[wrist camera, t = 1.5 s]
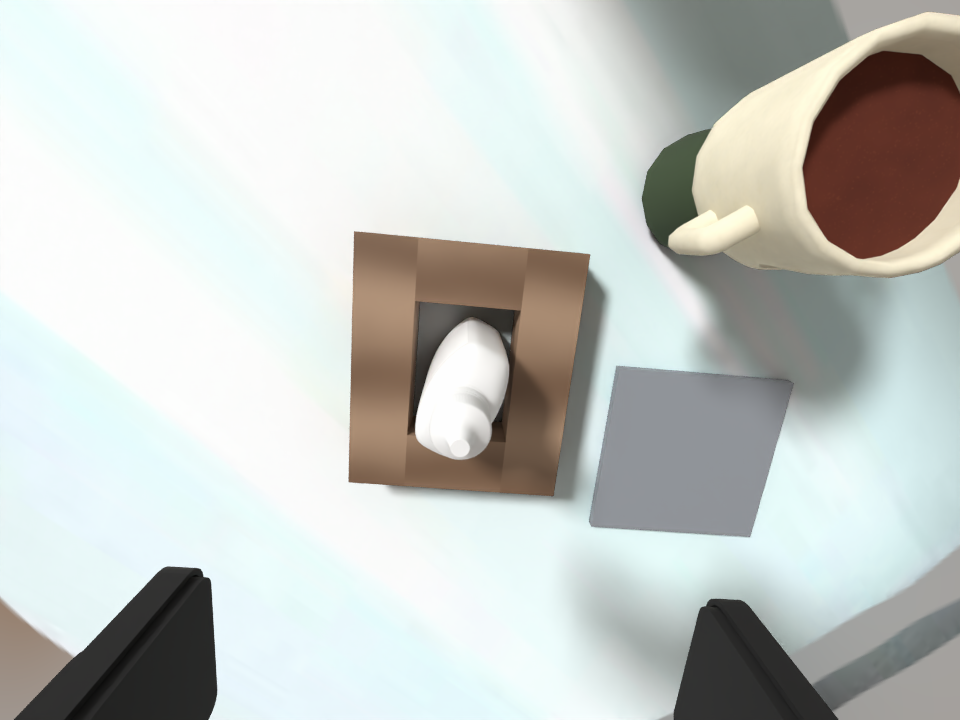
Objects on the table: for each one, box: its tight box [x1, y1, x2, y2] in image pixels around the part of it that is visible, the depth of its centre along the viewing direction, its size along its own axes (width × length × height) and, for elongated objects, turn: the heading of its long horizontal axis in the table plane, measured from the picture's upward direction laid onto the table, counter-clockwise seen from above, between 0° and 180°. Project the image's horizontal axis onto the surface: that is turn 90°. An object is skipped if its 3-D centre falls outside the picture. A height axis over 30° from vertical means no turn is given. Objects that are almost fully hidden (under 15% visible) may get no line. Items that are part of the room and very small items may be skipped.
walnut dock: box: [349, 231, 590, 496], centre depth 26 cm, size 14×12×3 cm
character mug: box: [642, 12, 960, 278], centre depth 19 cm, size 11×7×13 cm, turn 119°
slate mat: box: [589, 366, 794, 537], centre depth 29 cm, size 11×11×1 cm
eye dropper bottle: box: [415, 317, 509, 460], centre depth 22 cm, size 4×6×12 cm
